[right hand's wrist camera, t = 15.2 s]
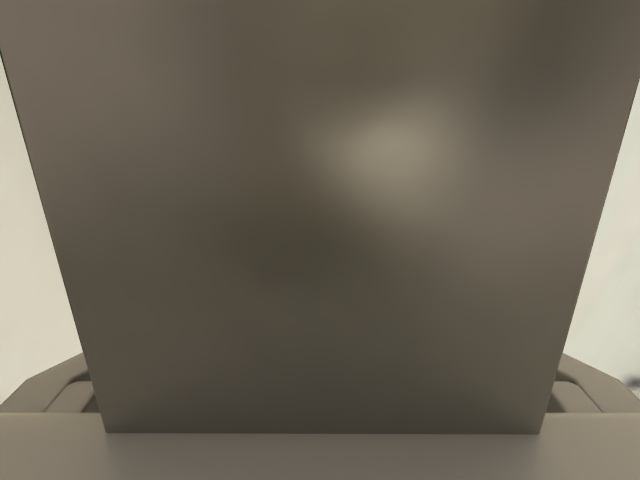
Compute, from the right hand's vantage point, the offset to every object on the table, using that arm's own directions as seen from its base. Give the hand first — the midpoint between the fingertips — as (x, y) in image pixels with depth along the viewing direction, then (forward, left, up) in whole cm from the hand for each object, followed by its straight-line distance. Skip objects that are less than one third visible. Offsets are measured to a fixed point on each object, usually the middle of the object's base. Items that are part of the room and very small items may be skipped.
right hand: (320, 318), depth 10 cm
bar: (-5, +8, -4) cm, 10 cm away
